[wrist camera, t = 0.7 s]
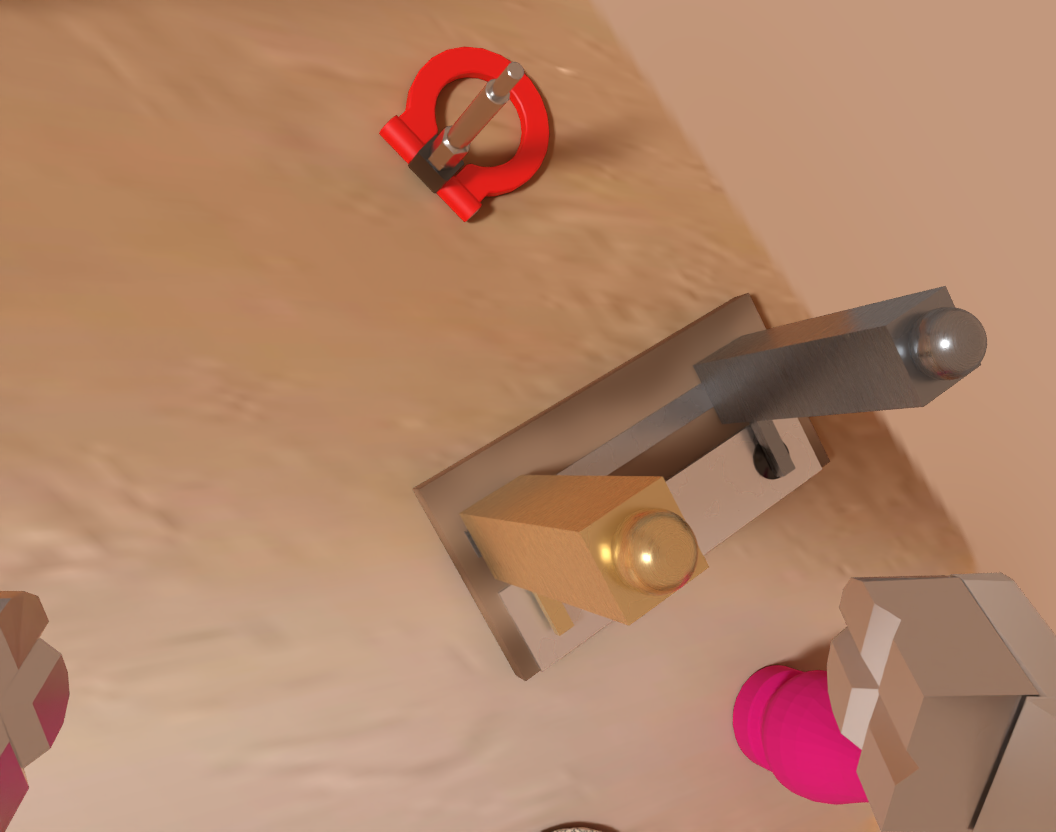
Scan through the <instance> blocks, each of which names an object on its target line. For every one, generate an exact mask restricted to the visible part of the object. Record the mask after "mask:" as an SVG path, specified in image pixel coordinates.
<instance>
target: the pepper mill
mask: <svg viewBox="0 0 1056 832" xmlns="http://www.w3.org/2000/svg"><path fill="white" fill-rule="evenodd" d="M733 728H734V733H735V737H736V740H737V742H738V745H739V747H740V748H741V750H742V752H743V753H744V754H745V755H746V756H747V757H748V758H749V759H750V760H751V761H752V762H754V763H756V764H757V765H759V766H761V767H763V768H765V769H767V770H769V771H771V772H773V774H774V775H775V777H776V778H777V779H778V780H779V782H780V783H781V784H782V785H783V786H785V787H786V788H787V789H789V790H790V791H791V792H793V793H795V794H797V795H799V796H802V797H804V798H807V799H809V800H812V801H815V802H821V803H828V804H836V805H837V804H848V803H859V802H869V801H868V799H867V796H866V794H865V791H864V789H863V786H862V784H861V782H860V779H859V777H858V774H857V772H856V770H857V766H858V763H859V759H860V755H861V751H862V750H861V749H860V748H859V747H858V746H856V745H855V744H854V743H853V742H851V741H850V740H849V739H848V738H846V737H845V736H844V735H843V734H841V732H840V730H839V727H838V724H837V722H836V719H835V717H834V714H833V711H832V707H831V702H830V698H829V694H828V681H827V671H823V670H813V671H807V672H802V671H799V670H796V669H793V668H790V667H787V666H782V665H773V666H768V667H765V668H763V669H761V670H759V671H757V672H756V673H754V674H753V675H752V676H751V677H750V678H749V679H748V680H747V681H746V682H745V684H744V685H743V686H742V688H741V690H740V692H739V694H738V696H737V698H736V702H735V706H734V709H733Z"/></svg>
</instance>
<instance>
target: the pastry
mask: <svg viewBox="0 0 1056 832" xmlns="http://www.w3.org/2000/svg"><path fill="white" fill-rule="evenodd" d="M552 832H602V831H599V830H595V829H590V828H585V827H578V828H563V829H558V830H555V831H552Z"/></svg>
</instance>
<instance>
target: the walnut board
mask: <svg viewBox="0 0 1056 832" xmlns="http://www.w3.org/2000/svg"><path fill="white" fill-rule="evenodd" d="M762 330H766V328H765V326H764V324H763V322H762V320H761V318H760V315H759V313H758V311H757V309H756V307H755V305H754V303H753V301H752V299H751V297H750V295H749V293H747V294H744V295H741V296H737V297H734V298H733V299H731V300H729V301H728V302H726V303H724V304H723V305H721V306H719V307H718V308H716V309H714V310H713V311H711V312H709V313H707V314H706V315H704V316H702V317H701V318H699V319H697V320H696V321H694V322H692V323H691V324H689V325H687V326H686V327H684V328H682V329H681V330H679V331H677V332H676V333H674V334H672V335H670V336H669V337H667V338H665V339H664V340H662V341H660V342H659V343H657V344H655V345H654V346H652V347H650V348H649V349H647V350H645V351H644V352H642V353H640V354H639V355H637V356H635V357H633V358H632V359H630V360H628V361H627V362H625V363H623V364H622V365H620V366H618V367H617V368H615V369H613V370H612V371H610V372H608V373H607V374H605V375H603V376H602V377H600V378H598V379H596V380H595V381H593V382H591V383H590V384H588V385H586V386H585V387H583V388H581V389H580V390H578V391H576V392H575V393H573V394H571V395H570V396H568V397H566V398H564V399H563V400H561V401H559V402H558V403H556V404H554V405H553V406H551V407H549V408H548V409H546V410H544V411H543V412H541V413H539V414H538V415H536V416H534V417H533V418H531V419H529V420H527V421H526V422H524V423H522V424H521V425H519V426H517V427H516V428H514V429H512V430H511V431H509V432H507V433H506V434H504V435H502V436H501V437H499V438H497V439H496V440H494V441H492V442H490V443H489V444H487V445H485V446H484V447H482V448H480V449H479V450H477V451H475V452H474V453H472V454H470V455H469V456H467V457H465V458H464V459H462V460H460V461H459V462H457V463H455V464H453V465H452V466H450V467H448V468H447V469H445V470H443V471H442V472H440V473H438V474H437V475H435V476H433V477H432V478H430V479H428V480H427V481H425V482H423V483H422V484H420V485H418V486H416V487H415V488H413V491H414V493H415V495H416V496H417V498H418V500H419V502H420V504H421V505H422V507H423V509H424V511H425V513H426V514H427V516H428V518H429V520H430V522H431V523H432V525H433V527H434V529H435V531H436V532H437V534H438V536H439V538H440V540H441V541H442V543H443V545H444V547H445V549H446V550H447V552H448V554H449V556H450V558H451V559H452V561H453V563H454V565H455V566H456V568H457V570H458V572H459V574H460V575H461V577H462V579H463V581H464V583H465V584H466V586H467V588H468V590H469V592H470V593H471V595H472V597H473V599H474V601H475V602H476V604H477V606H478V608H479V610H480V611H481V613H482V615H483V617H484V619H485V620H486V622H487V624H488V626H489V628H490V629H491V631H492V633H493V635H494V637H495V638H496V640H497V642H498V644H499V646H500V647H501V649H502V651H503V653H504V655H505V656H506V658H507V660H508V662H509V664H510V665H511V667H512V669H513V671H514V673H515V674H516V675H517V676H518V677H520V678H521V679H523V680H525V681H526V680H528V679H529V678H531V677H532V676H533V675H535V674H536V673H538V672H539V671H540V669H539V667H538V665H537V663H536V662H535V660H534V658H533V656H532V654H531V652H530V651H529V649H528V647H527V645H526V643H525V642H524V640H523V638H522V636H521V634H520V633H519V631H518V629H517V627H516V625H515V623H514V622H513V620H512V618H511V616H510V614H509V613H508V611H507V609H506V607H505V605H504V603H503V602H502V600H501V598H500V596H499V594H498V592H499V591H500V590H502V589H503V588H505V587H506V586H508V585H509V584H508V583H505V582H502V581H500V580H497V579H495V578H494V576H493V575H492V573H491V571H490V569H489V567H488V565H487V564H486V562H485V560H484V558H483V556H482V557H480V558H478V556H477V555H476V553H475V551H474V549H473V547H472V545H471V544H470V542H469V540H468V538H467V536H466V535H465V533H464V532H465V531H466V530H468V529H467V527H466V526H465V524H464V522H463V520H462V518H461V516H460V515H459V513H460V512H462V511H463V510H465V509H467V508H468V507H470V506H471V505H473V504H475V503H476V502H478V501H480V500H481V499H483V498H484V497H486V496H488V495H489V494H491V493H492V492H494V491H496V490H497V489H499V488H501V487H502V486H504V485H505V484H507V483H509V482H510V481H512V480H513V479H515V478H517V477H518V476H520V475H555V474H557V473H558V472H560V471H562V470H563V469H565V468H566V467H568V466H570V465H571V464H573V463H574V462H576V461H577V460H579V459H581V458H582V457H584V456H585V455H587V454H589V453H590V452H592V451H593V450H595V449H597V448H598V447H600V446H601V445H603V444H605V443H606V442H608V441H609V440H611V439H612V438H614V437H616V436H617V435H619V434H620V433H622V432H624V431H625V430H627V429H628V428H630V427H632V426H633V425H635V424H636V423H638V422H639V421H641V420H643V419H644V418H646V417H647V416H649V415H651V414H652V413H654V412H655V411H657V410H659V409H660V408H662V407H663V406H665V405H666V404H668V403H670V402H671V401H673V400H674V399H676V398H678V397H679V396H681V395H682V394H684V393H686V392H687V391H689V390H690V389H692V388H693V387H695V386H697V385H698V384H700V383H701V381H700V379H699V377H698V375H697V373H696V371H695V369H694V367H693V365H694V364H696V363H698V362H699V361H701V360H702V359H704V358H706V357H707V356H709V355H711V354H712V353H714V352H715V351H717V350H719V349H720V348H722V347H724V346H725V345H727V344H728V343H730V342H732V341H733V340H735V339H736V338H738V337H740V336H742V335H746V334H750V333H754V332H758V331H762ZM798 420H799V422H800V424H801V426H802V428H803V430H804V432H805V434H806V436H807V438H808V441H809V443H810V445H811V447H812V449H813V451H814V453H815V455H816V457H817V459H818V461H819V463H820V465H821V467H823V466H825V465H826V464H827V463H829V462H830V460H829V458H828V456H827V454H826V452H825V450H824V448H823V446H822V444H821V442H820V439H819V437H818V435H817V433H816V431H815V429H814V427H813V425H812V423H811V421H810V419H809V417H799V418H798ZM749 424H750V423H749V422H742V423H730V424H722V423H721V421H720V419H719V417H718V415H717V413H716V411H715V409H714V407H712V408H711V409H709V410H707V411H706V412H704V413H703V414H701V415H700V416H698V417H697V418H695V419H694V420H692V421H690V422H689V423H687V424H686V425H684V426H683V427H681V428H680V429H678V430H676V431H675V432H673V433H672V434H670V435H669V436H667V437H666V438H664V439H663V440H661V441H659V442H658V443H656V444H655V445H653V446H652V447H650V448H649V449H647V450H646V451H644V452H642V453H641V454H639V455H638V456H636V457H635V458H633V459H632V460H630V461H629V462H627V463H625V464H624V465H622V466H621V467H619V468H618V469H616V470H615V471H613V472H612V473H610V474H608V475H607V476H659V477H663V478H664V480H666V479H668V478H669V477H671V476H672V475H674V474H675V473H677V472H678V471H680V470H681V469H683V468H684V467H686V466H687V465H689V464H690V463H692V462H693V461H695V460H696V459H698V458H699V457H701V456H702V455H704V454H705V453H707V452H708V451H710V450H711V449H713V448H714V447H716V446H717V445H719V444H720V443H722V442H723V441H725V440H726V439H728V438H729V437H731V436H732V435H734V434H735V433H737V432H738V431H740V430H741V429H743V428H744V427H746V426H747V425H749Z"/></svg>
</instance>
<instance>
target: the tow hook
mask: <svg viewBox="0 0 1056 832" xmlns="http://www.w3.org/2000/svg"><path fill="white" fill-rule="evenodd" d="M466 77H470V78H479V79H482V80H485V81H488V83H487V84H486V85H485V86H484V88H483V89H482V90H481V91H480V93H479V94H478V95H477V96H476V98H475V99H474V100H473V101H472V102H471V104H470V105H469V106H468V107H467V109H466V110H465V111H464V112H463V114H462V115H461V116H460V117H459V118H458V120H457V121H456V122H455V123H454V125H453V126H447V127H445V128H444V129H443V130H442V132H441V133H440V134H439V135H437V132H438V127H437V124H436V118H435V106H436V100H437V97H438V95H439V93H440V91H441V90H442V89H443V87H444V86H445V85H447V84H448V83H450V82H452V81H454V80H456V79H461V78H466ZM509 98H510V100H511V101H512V103H513V104H514V106H515V108H516V109H517V112H518V115H519V118H520V121H521V130H522V135H521V142H520V146H519V148H518V150H517V152H516V155H515V156H514V157H513V158H512V159H511V160H510V161H508V162H506V163H505V164H503V165H499V166H495V167H480V166H477V165H473V164H468V165H466V166H465V167H464V168H463V169H462V170H461V171H460V172H459V173H458V174H457V175H456V176H453V175H454V174H455V173H456V172H457V171H458V170H459V169H460V168H461V167H462V166H463V165H464V162H463V160H462V159H463V158H464V156H465V155H466V154H467V153H468V151H469V148H470V144H471V141H472V140H473V139H474V138H475V137H476V136H477V135H478V134H479V132H480V131H481V130H482V129H483V128H484V127H485V126H486V125H487V124H488V122H489V121H490V120H491V119H492V118H493V117H494V116H495V115H496V114H497V112H498V111H499V110H500V109H501V108H502V107H503V106H504V105H505V104H506V102H507V101H508V100H509ZM405 110H406V111H405V112H404V113H403V114H402V115H400V116H399V117H398V116H397V115H396V116H394V117H393V118H392V119H391V120H390V121H389V122H388V123H387V124H386V125H385V126H384V127H383V128H382V129H381V131H380V133H379V134H380V135H381V136H382V137H383V138H384V139H385V140H386V141H387V142H388V143H389V145H390V146H391V147H392V148H393V149H394V150H395V151H396V152H397V153H398V154H399V155H400V156H401V157H402V158H403V159H404V160H405V161H406V162H407V163H408V166H409V168H410V169H411V170H412V171H413V172H414V173H415V174H416V175H417V176H418V177H419V178H420V179H421V180H422V181H423V182H424V183H425V184H426V186H427V187H428V188H429V189H430V190H431V191H432V192H433V193H437V194H438V195H439V196H440V197H441V198H442V199H443V201H444V202H445V203H446V204H447V205H448V206H449V207H450V208H451V209H452V210H453V211H454V212H455V213H456V214H457V215H458V216H459V217H460V218H461V219H462V220H463V221H464V222H466V221H467V220H469V219H470V218H471V217H472V216H473V215H474V214H475V213H476V212H477V211H478V210H479V208H480V207H481V205H482V204H481V203H480V202H481V200H482V199H483V198H484V197H485V196H498V195H502V194H505V193H509V192H512V191H513V190H515V189H517V188H518V187H520V186H521V185H523V184H525V183H526V182H527V181H528V180H529V179H530V178H531V177H532V176H533V175H534V173H535V172H536V171H537V170H538V169H539V168H540V166H541V164H542V161H543V159H544V157H545V155H546V152H547V148H548V140H549V124H548V115H547V112H546V109H545V107H544V104H543V101H542V98H541V96H540V94H539V93H538V91H537V89H536V88H535V86H534V85H533V83H532V81H531V80H530V79H529V78H528V77H527V76H526V75H525V74H524V69H523V67H522V66H521V65H520V64H519V63H517V62H510V61H509V60H507V59H506V58H504V57H503V56H501V55H499V54H496V53H494V52H491V51H488V50H486V49H483V48H473V47H460V48H454V49H449V50H446V51H444V52H442V53H440V54H438V55H436V56H434V57H432V58H431V59H430V60H429V61H428V62H427V63H426V64H425V65H424V66H423V67H422V68H421V69H420V71H419V72H418V74H417V75H416V77H415V79H414V81H413V83H412V85H411V87H410V89H409V92H408V98H407V104H406V109H405Z"/></svg>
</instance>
